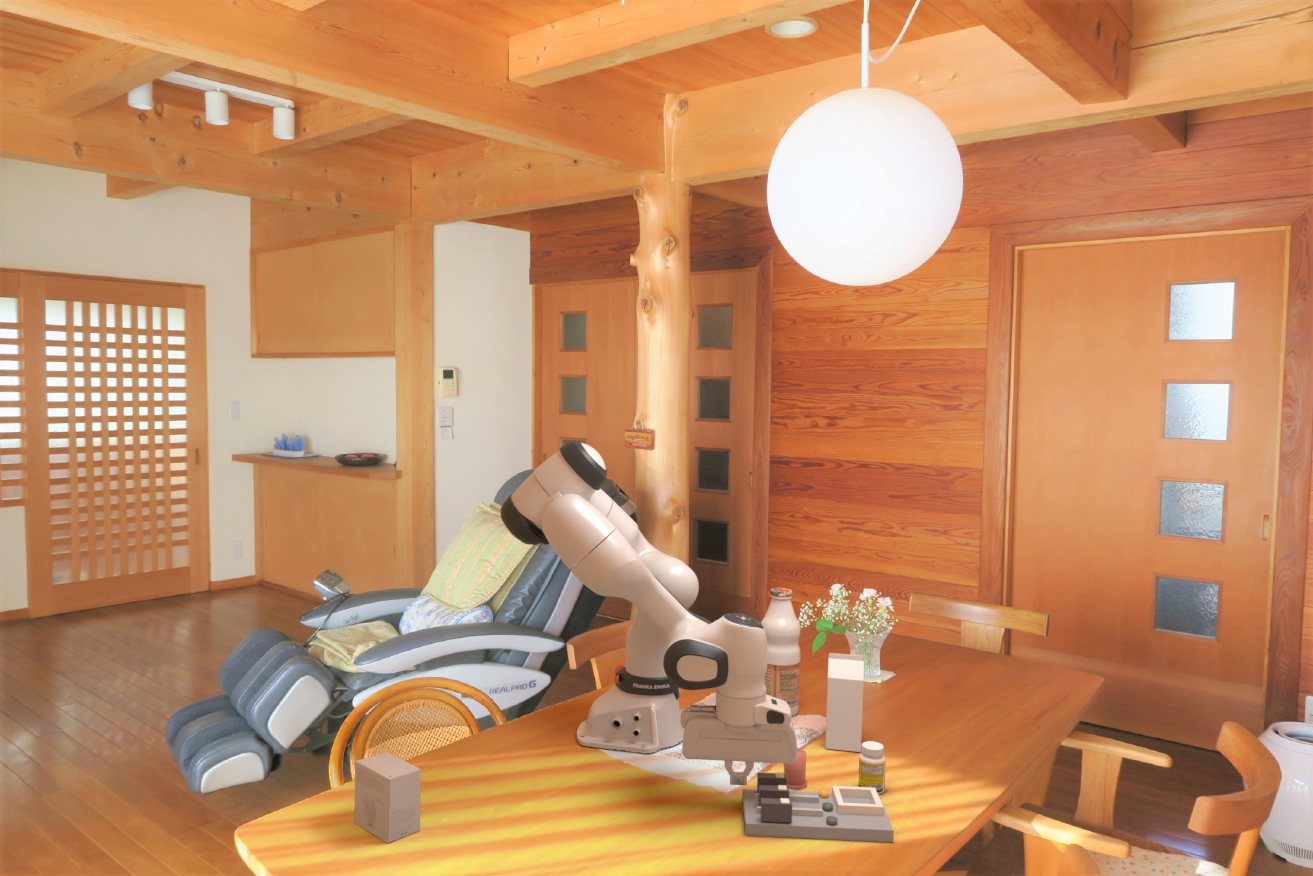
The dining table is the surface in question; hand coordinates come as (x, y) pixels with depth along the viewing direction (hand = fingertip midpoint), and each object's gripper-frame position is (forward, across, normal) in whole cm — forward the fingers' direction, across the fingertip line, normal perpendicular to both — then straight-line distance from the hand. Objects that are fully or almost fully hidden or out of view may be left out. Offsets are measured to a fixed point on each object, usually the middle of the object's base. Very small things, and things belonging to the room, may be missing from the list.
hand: (738, 783), depth 162 cm
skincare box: (+4, -58, -14) cm, 60 cm away
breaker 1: (+2, +6, 0) cm, 6 cm away
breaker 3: (+2, +6, -10) cm, 12 cm away
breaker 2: (+2, +6, -5) cm, 8 cm away
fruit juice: (+4, +10, +47) cm, 49 cm away
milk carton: (+4, +23, +29) cm, 37 cm away
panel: (+4, +13, -5) cm, 14 cm away
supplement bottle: (+4, +25, +8) cm, 26 cm away
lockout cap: (+4, +11, +9) cm, 15 cm away
